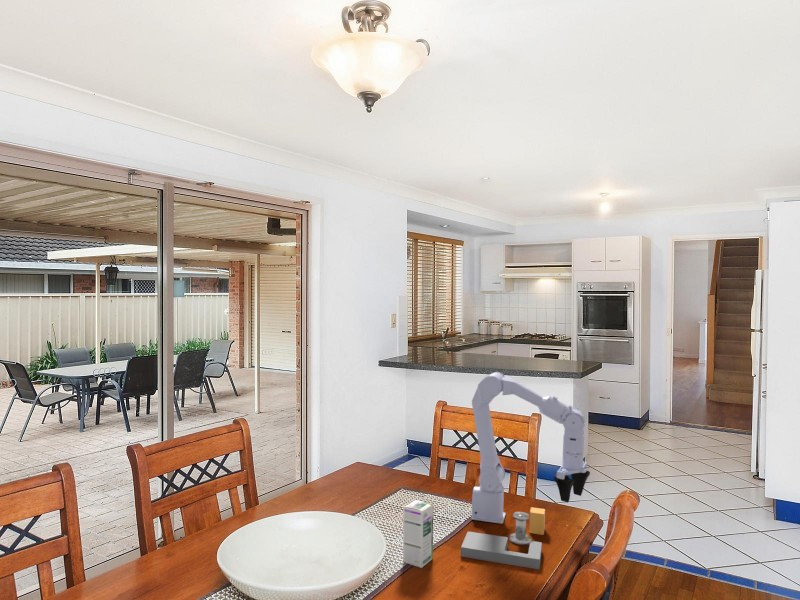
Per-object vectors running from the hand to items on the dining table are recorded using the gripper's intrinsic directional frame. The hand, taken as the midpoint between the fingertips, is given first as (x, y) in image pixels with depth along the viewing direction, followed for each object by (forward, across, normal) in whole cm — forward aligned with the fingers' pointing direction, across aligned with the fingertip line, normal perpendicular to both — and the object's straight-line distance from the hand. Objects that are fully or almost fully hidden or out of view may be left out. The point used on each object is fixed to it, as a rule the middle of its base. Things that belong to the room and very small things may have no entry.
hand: (571, 497), depth 165 cm
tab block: (+10, -7, +7) cm, 14 cm away
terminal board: (+10, -27, +5) cm, 29 cm away
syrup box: (+10, -46, +18) cm, 50 cm away
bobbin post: (+10, -16, +6) cm, 20 cm away
